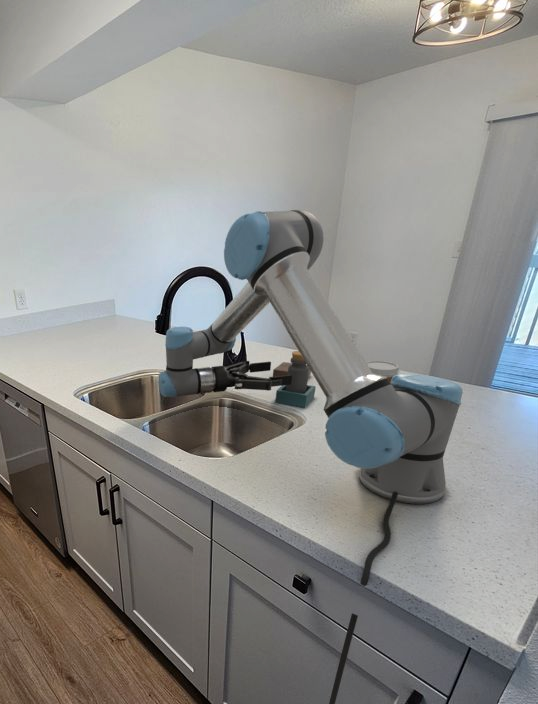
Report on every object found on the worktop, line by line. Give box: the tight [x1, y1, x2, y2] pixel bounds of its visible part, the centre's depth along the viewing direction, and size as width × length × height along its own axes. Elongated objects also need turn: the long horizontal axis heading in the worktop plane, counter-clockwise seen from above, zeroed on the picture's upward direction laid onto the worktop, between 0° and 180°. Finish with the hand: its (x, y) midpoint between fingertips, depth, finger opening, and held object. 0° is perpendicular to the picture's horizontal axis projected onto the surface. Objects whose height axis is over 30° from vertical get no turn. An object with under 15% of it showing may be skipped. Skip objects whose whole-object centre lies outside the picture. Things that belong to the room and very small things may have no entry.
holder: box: [274, 384, 316, 409], centre depth 133 cm, size 9×9×4 cm
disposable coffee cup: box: [365, 360, 400, 382], centre depth 126 cm, size 10×10×12 cm
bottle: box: [286, 350, 309, 394], centre depth 131 cm, size 6×6×15 cm
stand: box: [272, 361, 312, 379], centre depth 151 cm, size 10×10×4 cm
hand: (280, 372), depth 129 cm, fingers open, 13 cm apart
